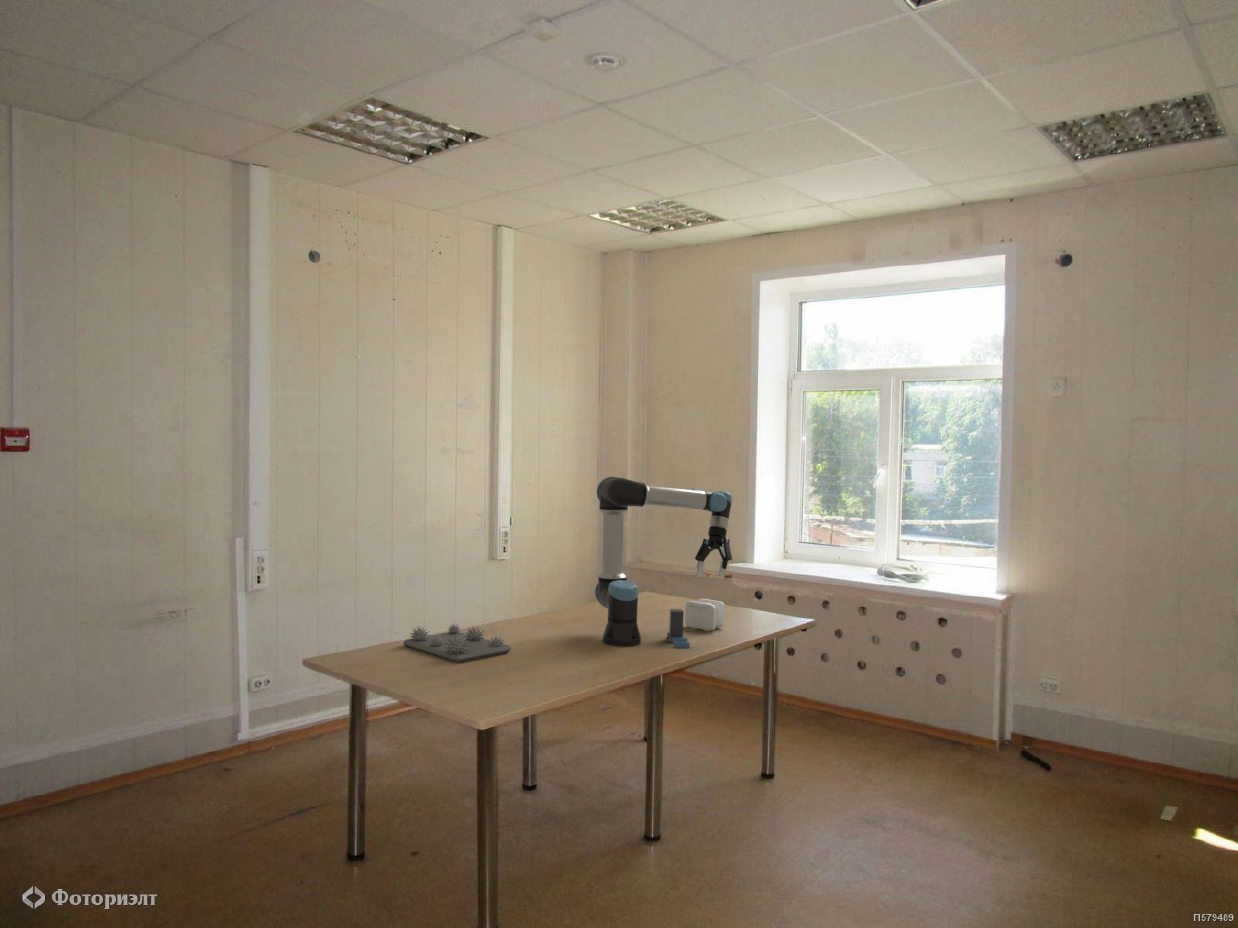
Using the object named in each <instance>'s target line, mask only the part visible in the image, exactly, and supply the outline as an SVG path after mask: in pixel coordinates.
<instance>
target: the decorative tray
mask: <svg viewBox="0 0 1238 928" xmlns="http://www.w3.org/2000/svg"><path fill="white" fill-rule="evenodd" d="M416 627H417V629H416V628H415V627H413V629H411V631H412V632H409V639H408V638H407V639H405V640H404V641H403V643H402V644H403V645H404V646H405V647H408V648H411V649H414V650H417V651H420V652H423V653H426V654H429V655H432V656H437V657H439V658H442V659H445V660H448V661H453V662H456V663H463V662H467V661H472V660H473V661H474V660H476V659H482V658H486V657H488V658H489V657H493V656H496V655H502V654H506V653H510V651H511V649H512V648H511V646H509V645H508V644H505V642H504V641H505V639H503V637H501V635H499V636H494V637H493V636H492V637H491V638H490V640H489V639H485V633H484V632H485V630H483V631H481V630H482V628H480V625H478V626H477V628H476V627H475V626H473V625H472V627H468V629H467V631H468V632H465V631H464V632H462V631H461V626H460V625H458V623H457V624H455V623H452V625H451V624H450V625H449V627H447V630H448V632H444V633H437V634H433V635H430V634H428V633H430V631H427V630H428V628H425V626H423V627H422V628H421V626H418V625H416ZM471 628H472V629H471Z"/></svg>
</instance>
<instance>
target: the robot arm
mask: <svg viewBox="0 0 1238 928" xmlns="http://www.w3.org/2000/svg"><path fill="white" fill-rule="evenodd" d="M596 496H597V499H598V501H599V511H600V512H601V513H602V517H603V518H602V553H601V555H602V556H601V557H602V559H601V561H602V564H601V565H602V567H601V569H602V570H601V572H600V574H599V575H598V578H597V579H598V580H597V581H598V582H597V584H596V586H595V588H594V594H595V598H596V600H597V602H598V603H599V604H600V605H601V606H602V607H603V608H605V609H607V623H606V626H605V629H604V631H603V634H602V642H603V643H604V644H606V645H610V646H614V647H615V646H617V647H632V646H637V645H640V644H641V643H642V637H641V631H640V629H639V625H638V608H639V607H638V602H639V587H638V585H637V584H636V583H634V582H632V581H628V580H627V579H628V578H627V575H626V574H625V573H624V541H625V539H624V538H625V537H624V536H625V535H624V532H625V531H624V528H625V514H626V512H628V510H629V509H628V508H629V507H639V508H640V507H642V508H643V507H645V506H646V505H648V506H657V507H659V506H660V507H669V508H680V509H691V510H702V511H707V512H710V513H711V515H710V521H709V527H708V534H707V535H708V539H707V538H703V540H702V543H701V545H700V547H699V549H698V551H697V554H696V555H695V557H694V559H695V560H696V561H697V565H696V569H697V570H696V575H695V576H696V577H697V578H698V577H699V578H703V575H704V574H703V573H704V567H705V560H706V558H707V557H708V556H709V555H710V553H711V552H713V550H714V551H715V550H718V553H719V555H720V558H721V560H720V562H719V569H718V574H717V576H718V577H721V578H725V575H726V570H727V567H728V562H729V561H732V560H733V556H732V551H731V547H730V538H728V537H727V532H728V525H729V519H730V514H731V513H730V512H731V508H732V503H733V502H732V501H733V496H732V494H731V493H730V492H728V491H721V490H718V491H716V492H712V491H707V490H705V491H704V490H701V489H698V488H691V489H682V488H674V487H664V486H663V487H662V486H653V485H648V484H647V483H646V482H639V481H635V480H631V479H628V478H624V477H618V476H608V477H605V478H604V479H602V480H601V481H600V482H599V483H598V485H597V487H596Z"/></svg>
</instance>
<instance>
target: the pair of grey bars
mask: <svg viewBox="0 0 1238 928" xmlns="http://www.w3.org/2000/svg"><path fill="white" fill-rule="evenodd" d="M666 638H668V642H669V643H672V637H669V631H668V632H667V637H666ZM676 638H685V637H684V636H683V637H676Z"/></svg>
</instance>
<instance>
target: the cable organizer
mask: <svg viewBox="0 0 1238 928" xmlns="http://www.w3.org/2000/svg"><path fill="white" fill-rule="evenodd" d="M684 608H685V609H684V610H685V611H684V612H685V613H684V615H685V616H684V623H685V625H686V627H689V628H690V629H695V630H696V629H698V630H702V631H705V632H710V631H714V630H715V629H719V628H723V627H724V626H725V613H726V612H725V611H726V610H725V609H726V605H725V604H724V602H723V601H720V600H713V599H708V598H698V599H696V601H695V600H694V601H693V600H689V601H687V602H686V603H685V606H684Z"/></svg>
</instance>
